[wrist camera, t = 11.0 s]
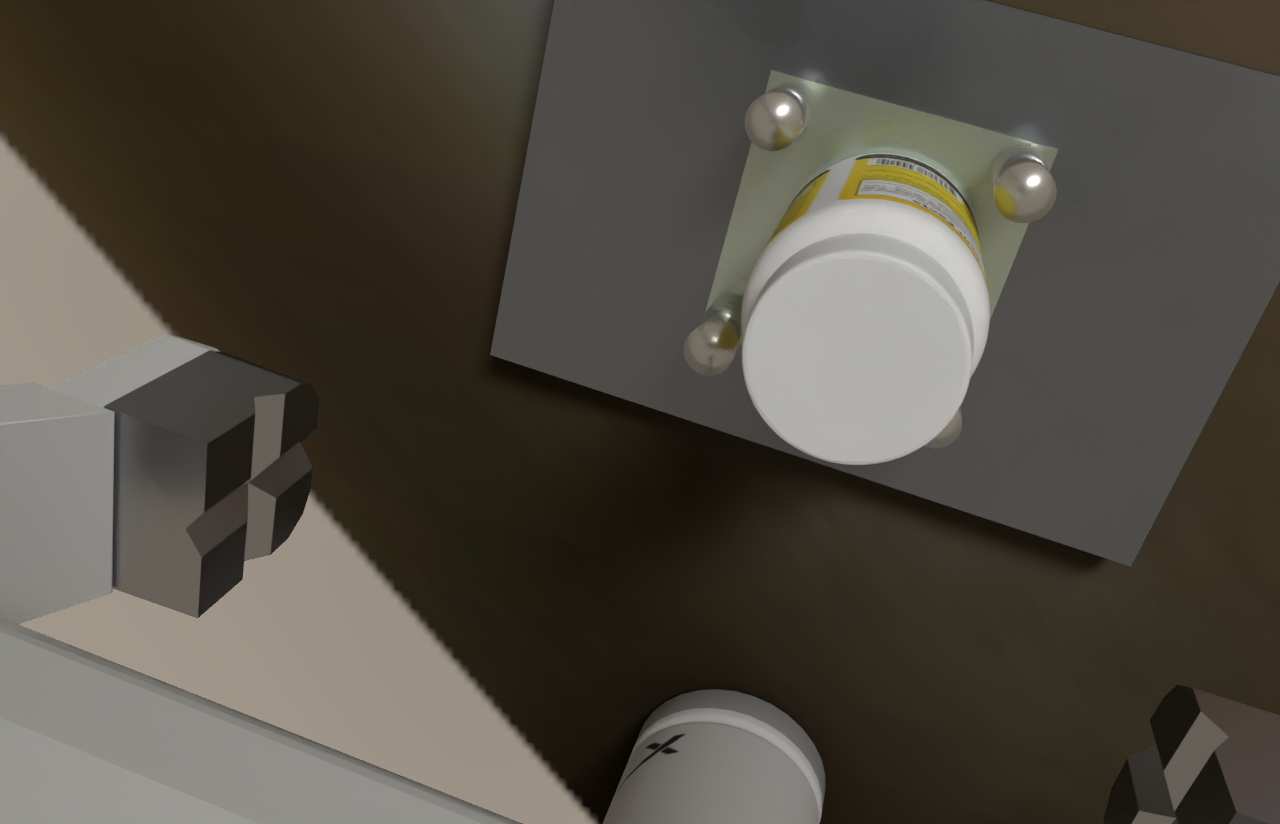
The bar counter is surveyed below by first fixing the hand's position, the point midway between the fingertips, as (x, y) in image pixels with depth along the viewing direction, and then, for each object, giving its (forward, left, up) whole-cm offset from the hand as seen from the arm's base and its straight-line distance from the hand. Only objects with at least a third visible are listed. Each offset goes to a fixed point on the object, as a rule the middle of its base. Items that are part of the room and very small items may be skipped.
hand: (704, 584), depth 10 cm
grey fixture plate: (+1, -1, -19) cm, 19 cm away
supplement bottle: (+1, -1, -18) cm, 18 cm away
